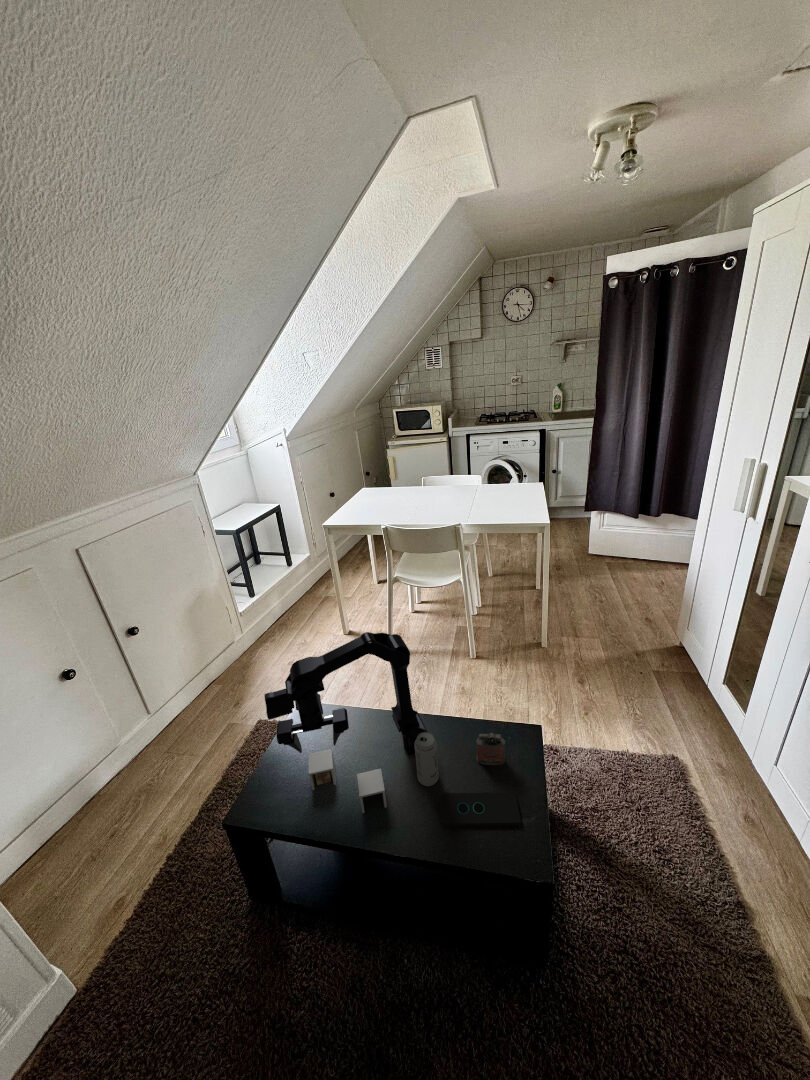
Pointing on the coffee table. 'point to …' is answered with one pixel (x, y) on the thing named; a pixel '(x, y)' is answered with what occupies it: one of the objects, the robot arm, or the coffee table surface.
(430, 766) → the energy drink can
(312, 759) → the grey piece
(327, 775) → the brown wooden cube
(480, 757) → the lighter
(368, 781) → the grey stool
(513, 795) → the smart home device
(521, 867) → the coffee table surface
